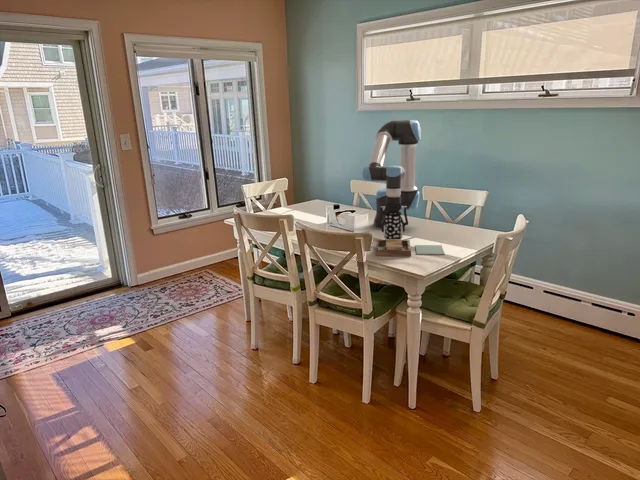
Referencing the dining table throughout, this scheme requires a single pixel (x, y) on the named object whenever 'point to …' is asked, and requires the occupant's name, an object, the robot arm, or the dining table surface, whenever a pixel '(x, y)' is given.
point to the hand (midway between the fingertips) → (393, 237)
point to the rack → (393, 252)
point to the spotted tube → (392, 226)
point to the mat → (429, 250)
